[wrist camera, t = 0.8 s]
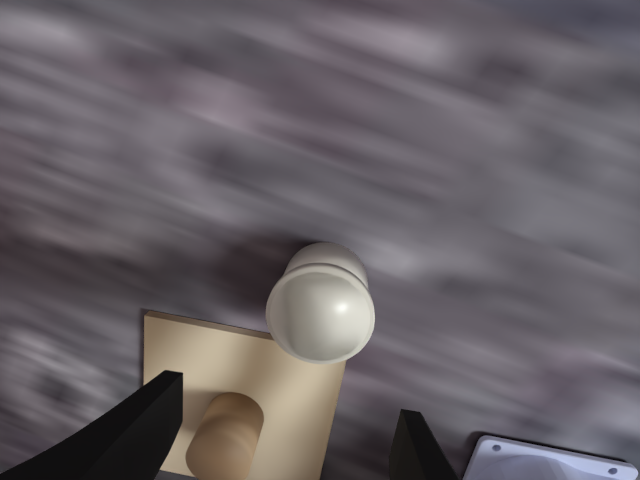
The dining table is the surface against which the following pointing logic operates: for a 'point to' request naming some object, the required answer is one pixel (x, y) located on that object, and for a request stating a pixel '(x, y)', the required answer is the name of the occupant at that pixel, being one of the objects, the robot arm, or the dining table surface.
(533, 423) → the dining table surface
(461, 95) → the dining table surface
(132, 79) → the dining table surface
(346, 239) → the dining table surface
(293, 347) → the cap
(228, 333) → the square wooden board
